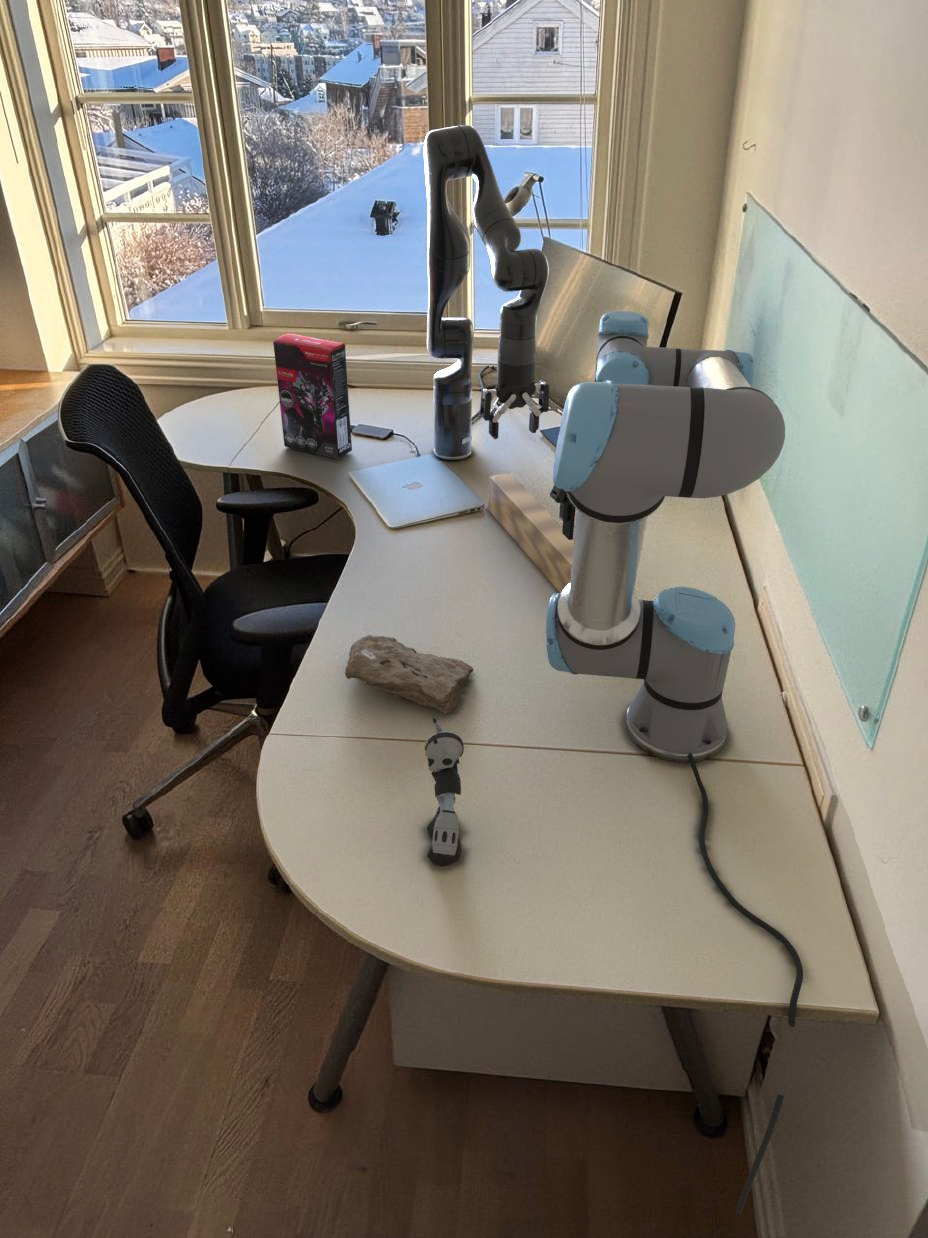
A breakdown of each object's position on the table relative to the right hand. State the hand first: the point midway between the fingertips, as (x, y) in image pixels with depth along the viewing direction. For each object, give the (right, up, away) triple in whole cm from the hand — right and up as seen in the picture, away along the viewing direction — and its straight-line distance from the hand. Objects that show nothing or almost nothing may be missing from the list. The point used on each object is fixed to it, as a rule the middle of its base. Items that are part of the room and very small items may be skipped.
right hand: (602, 530), depth 159 cm
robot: (-27, -45, -36) cm, 64 cm away
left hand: (-14, +23, +30) cm, 40 cm away
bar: (-7, -4, +26) cm, 28 cm away
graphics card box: (-61, +27, +72) cm, 98 cm away
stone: (-34, -26, -7) cm, 44 cm away
